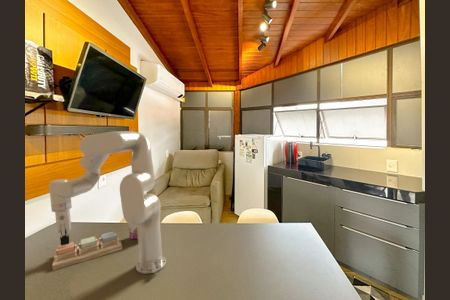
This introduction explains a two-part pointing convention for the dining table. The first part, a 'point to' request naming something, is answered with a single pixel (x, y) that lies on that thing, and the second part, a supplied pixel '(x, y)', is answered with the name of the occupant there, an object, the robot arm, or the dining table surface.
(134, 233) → the candy bar box
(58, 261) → the button panel
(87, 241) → the sage button
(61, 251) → the terracotta button
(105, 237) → the slate button
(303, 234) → the dining table surface
